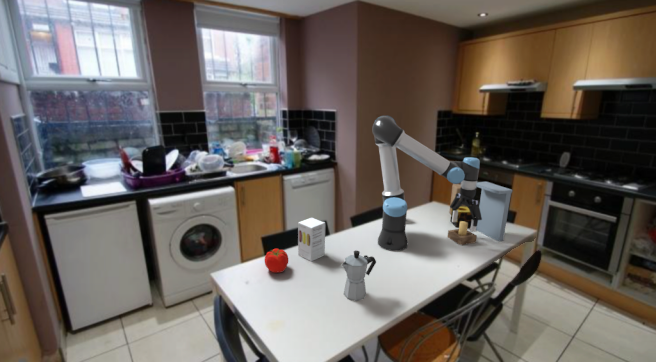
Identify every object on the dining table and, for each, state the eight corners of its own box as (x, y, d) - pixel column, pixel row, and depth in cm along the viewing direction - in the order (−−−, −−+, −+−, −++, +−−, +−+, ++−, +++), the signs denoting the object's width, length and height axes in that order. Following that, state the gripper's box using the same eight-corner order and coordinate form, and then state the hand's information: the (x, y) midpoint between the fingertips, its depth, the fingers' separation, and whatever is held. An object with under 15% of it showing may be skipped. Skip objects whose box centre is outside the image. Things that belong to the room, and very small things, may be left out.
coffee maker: (345, 304, 116) (346, 260, 111) (335, 291, 123) (336, 249, 119) (380, 295, 122) (382, 252, 117) (368, 283, 129) (370, 242, 125)
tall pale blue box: (490, 243, 166) (499, 191, 159) (466, 230, 181) (473, 182, 174) (503, 241, 169) (512, 189, 162) (479, 228, 184) (486, 181, 177)
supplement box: (297, 254, 152) (297, 222, 147) (311, 248, 158) (311, 216, 154) (311, 262, 145) (311, 227, 141) (325, 255, 152) (325, 222, 148)
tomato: (270, 279, 131) (270, 260, 129) (261, 267, 140) (260, 249, 138) (293, 272, 137) (293, 253, 135) (283, 261, 146) (282, 243, 144)
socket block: (460, 245, 164) (461, 238, 163) (447, 237, 173) (448, 230, 172) (475, 242, 167) (476, 235, 166) (462, 234, 176) (463, 228, 175)
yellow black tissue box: (473, 228, 185) (475, 212, 183) (456, 228, 185) (458, 212, 183) (466, 221, 195) (468, 206, 193) (449, 221, 195) (451, 206, 193)
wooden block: (464, 213, 208) (468, 184, 203) (469, 219, 199) (473, 188, 194) (449, 213, 209) (452, 183, 204) (453, 218, 200) (457, 188, 195)
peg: (461, 242, 167) (463, 224, 165) (455, 239, 171) (458, 221, 168) (467, 241, 168) (469, 223, 166) (461, 238, 172) (464, 220, 170)
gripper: (493, 194, 152) (487, 234, 158) (457, 181, 175) (452, 217, 180) (481, 195, 150) (475, 236, 155) (445, 182, 173) (441, 218, 178)
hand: (463, 226), depth 168 cm, fingers open, 13 cm apart
